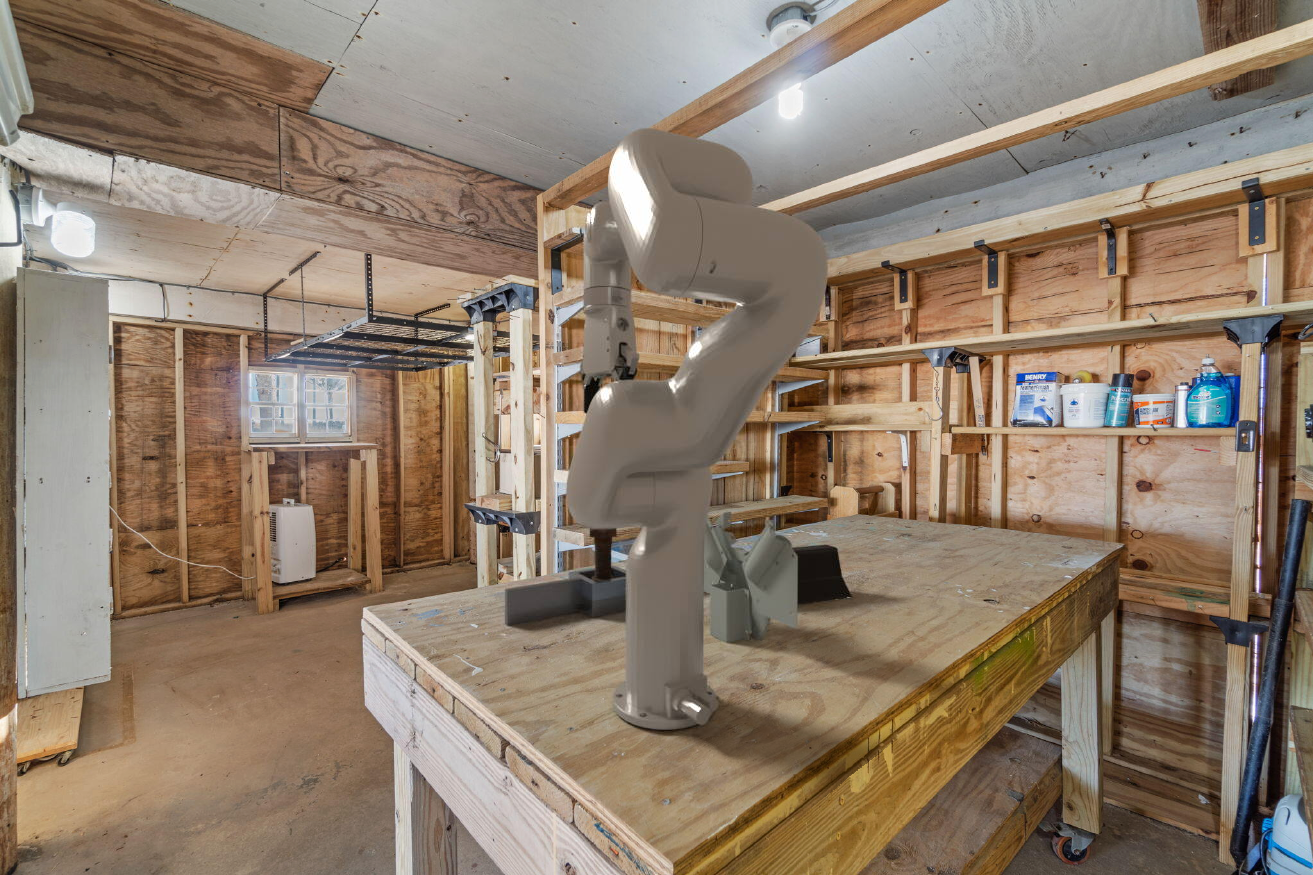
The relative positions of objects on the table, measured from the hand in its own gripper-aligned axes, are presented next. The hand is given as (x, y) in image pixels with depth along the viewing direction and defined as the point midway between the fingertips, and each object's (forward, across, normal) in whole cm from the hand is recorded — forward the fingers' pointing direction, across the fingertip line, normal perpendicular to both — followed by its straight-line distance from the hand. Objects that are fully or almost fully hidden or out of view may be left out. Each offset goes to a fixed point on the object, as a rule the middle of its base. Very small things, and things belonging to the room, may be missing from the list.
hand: (607, 412), depth 89 cm
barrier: (+37, 0, -42) cm, 56 cm away
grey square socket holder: (+36, +16, -8) cm, 40 cm away
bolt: (+36, +16, -8) cm, 41 cm away
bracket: (+36, -9, -19) cm, 42 cm away
